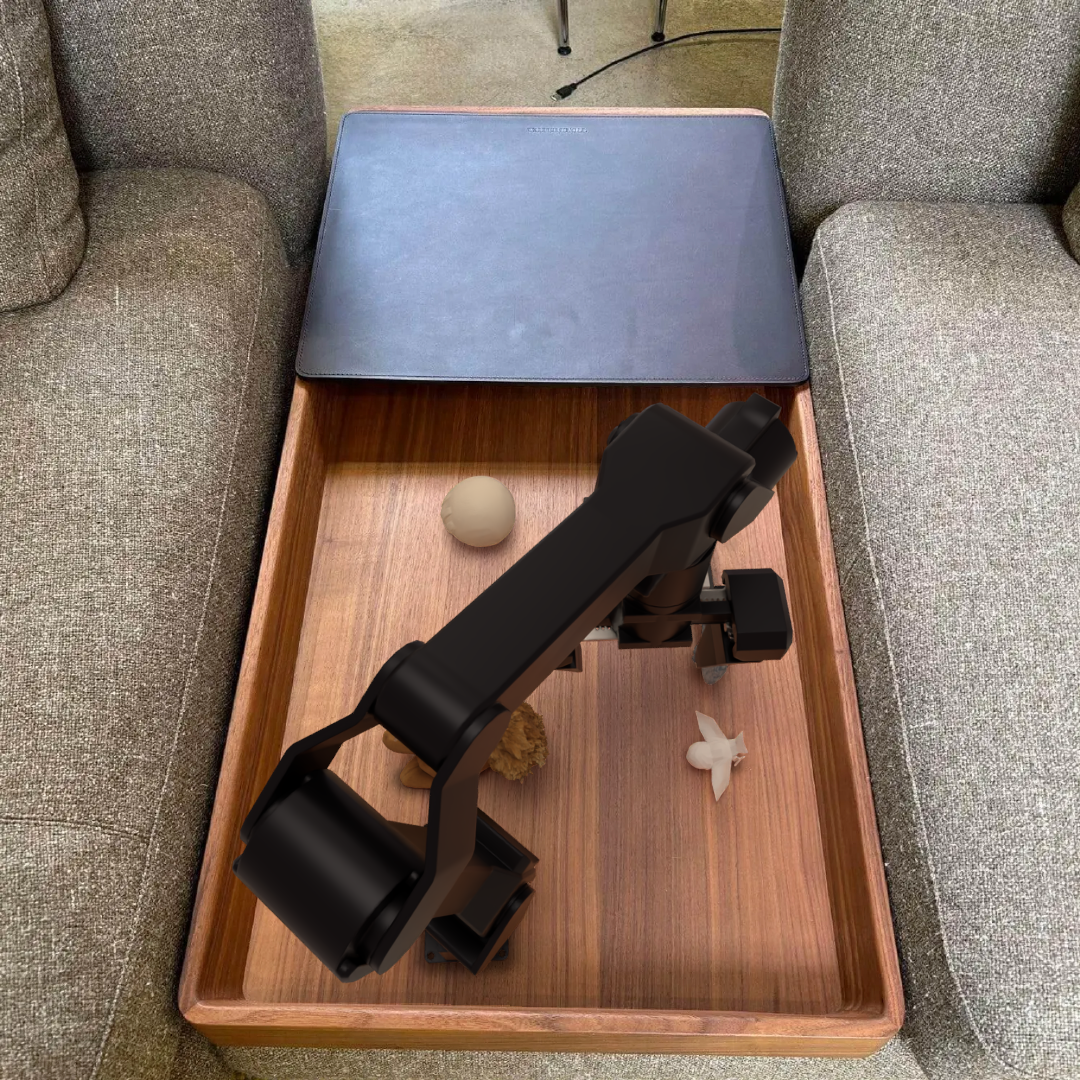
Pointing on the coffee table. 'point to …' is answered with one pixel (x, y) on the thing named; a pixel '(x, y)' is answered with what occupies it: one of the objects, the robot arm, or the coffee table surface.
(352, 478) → the coffee table surface
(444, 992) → the coffee table surface
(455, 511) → the beige round ball
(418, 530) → the coffee table surface
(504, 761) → the stuffed squirrel
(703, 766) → the toy bird
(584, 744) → the coffee table surface
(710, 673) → the fossil
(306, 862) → the robot arm
